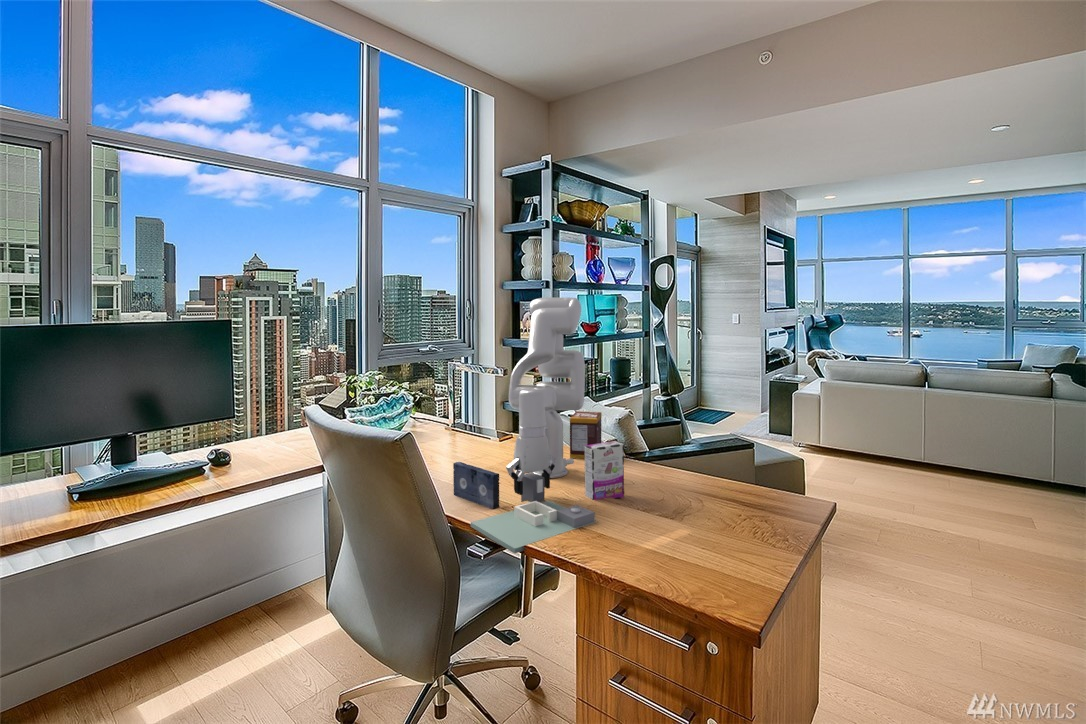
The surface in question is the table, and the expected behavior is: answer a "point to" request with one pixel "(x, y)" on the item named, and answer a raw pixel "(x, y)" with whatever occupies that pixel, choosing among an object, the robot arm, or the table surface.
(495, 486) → the vhs cassette tape
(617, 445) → the candy bar box
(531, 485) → the plug
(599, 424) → the supplement box
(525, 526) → the board
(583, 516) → the grey button box
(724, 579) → the table surface
